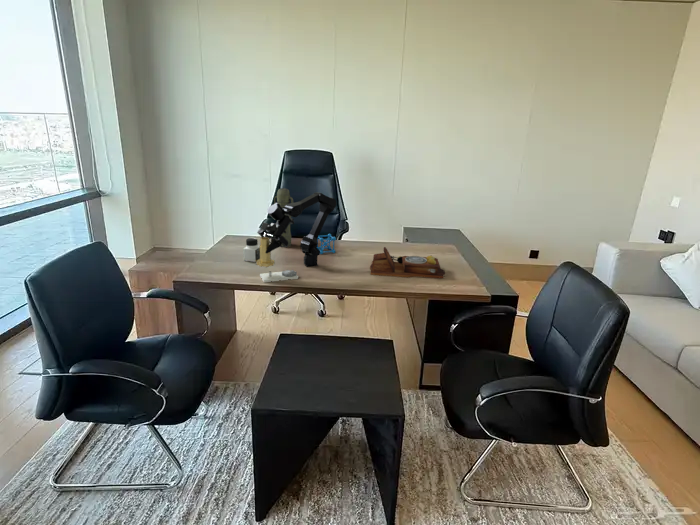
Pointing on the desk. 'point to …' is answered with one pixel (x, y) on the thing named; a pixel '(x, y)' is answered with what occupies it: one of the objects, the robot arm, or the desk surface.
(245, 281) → the desk surface
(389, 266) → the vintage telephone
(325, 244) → the molecular structure
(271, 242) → the robot arm
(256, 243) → the white pill bottle
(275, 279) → the gear board
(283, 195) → the thermos
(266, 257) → the yellow octagonal tube
